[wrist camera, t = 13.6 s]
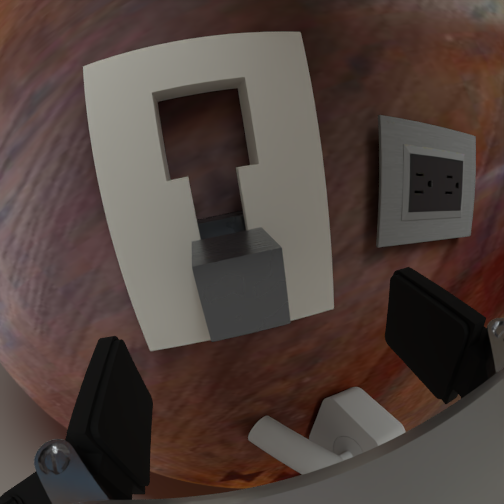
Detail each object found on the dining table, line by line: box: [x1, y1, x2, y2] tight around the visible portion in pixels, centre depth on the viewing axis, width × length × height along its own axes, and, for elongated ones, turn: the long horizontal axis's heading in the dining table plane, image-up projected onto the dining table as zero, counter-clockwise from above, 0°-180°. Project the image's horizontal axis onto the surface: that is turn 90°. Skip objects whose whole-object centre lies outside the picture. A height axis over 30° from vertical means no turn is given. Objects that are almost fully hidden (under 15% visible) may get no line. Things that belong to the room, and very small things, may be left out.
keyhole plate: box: [83, 32, 334, 351], centre depth 19 cm, size 20×14×3 cm
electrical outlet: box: [376, 115, 476, 247], centre depth 23 cm, size 13×10×2 cm
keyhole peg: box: [192, 211, 291, 342], centre depth 17 cm, size 4×4×9 cm
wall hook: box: [248, 387, 405, 475], centre depth 25 cm, size 10×12×12 cm
